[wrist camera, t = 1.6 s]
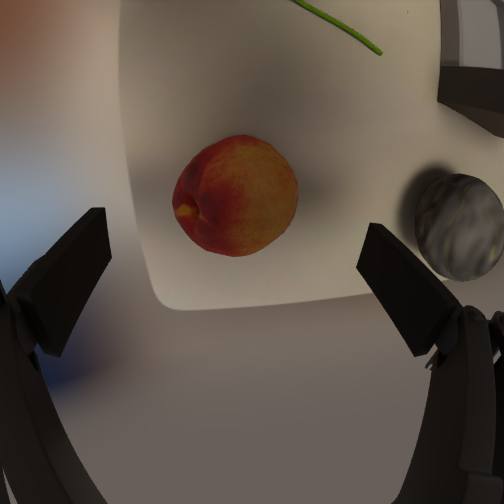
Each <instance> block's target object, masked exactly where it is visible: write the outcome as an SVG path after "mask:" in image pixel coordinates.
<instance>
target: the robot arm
mask: <svg viewBox="0 0 504 504" xmlns="http://www.w3.org/2000/svg"><path fill="white" fill-rule="evenodd" d="M105 212H106V211H105V208H104V207H103V208H101V207H100V208H91V209H89V210H88V211H87V212H86V213H85V214H84V215H83V216H82V217H81V218H80V219H79V220H78V221H77V222H76V223H75V224H74V225H73V226H72V227H71V228H70V229H69V230H68V231H67V232H66V233H65V234H64V235H63V236H62V237H61V238H60V239H59V240H58V241H57V242H56V243H55V244H54V245H53V246H52V247H51V248H50V249H49V250H48V252H47V253H46V254H45V255H43V256H42V257H40V258H39V259H37V260H36V261H34V262H33V263H32V265H31V266H30V267H29V268H28V270H27V271H26V272H25V273H24V274H23V275H22V277H21V278H20V279H19V280H18V281H17V282H16V284H15V285H14V286H13V287H12V289H11V290H10V291H9V292H8V294H7V295H6V293H5V290H4V288H3V285H2V283H1V280H0V504H10V500H9V496H8V492H7V488H6V484H5V479H4V475H3V470H4V472H5V475H6V478H7V480H8V483H9V485H10V488H11V490H12V492H13V494H14V497H15V499H16V501H17V503H18V504H107V502H106V500H105V499H104V498H103V496H102V495H101V493H100V492H99V491H98V489H97V487H96V486H95V484H94V483H93V481H92V480H91V478H90V477H89V475H88V473H87V471H86V470H85V468H84V466H83V465H82V463H81V461H80V459H79V458H78V456H77V454H76V452H75V450H74V448H73V446H72V444H71V442H70V440H69V438H68V436H67V434H66V432H65V430H64V428H63V425H62V423H61V421H60V419H59V417H58V414H57V412H56V409H55V407H54V404H53V402H52V399H51V397H50V394H49V391H48V388H47V385H46V382H45V379H44V376H43V373H42V370H41V367H40V363H39V360H38V357H37V354H36V353H35V351H34V348H35V346H36V344H37V342H38V344H39V346H40V347H41V349H42V351H43V353H44V354H48V355H52V356H56V357H60V356H61V354H62V352H63V349H64V347H65V345H66V343H67V341H68V338H69V336H70V334H71V332H72V330H73V328H74V326H75V324H76V322H77V320H78V318H79V316H80V314H81V312H82V310H83V308H84V306H85V304H86V302H87V300H88V299H89V297H90V295H91V293H92V291H93V289H94V288H95V286H96V284H97V282H98V280H99V279H100V277H101V275H102V273H103V272H104V270H105V268H106V267H107V265H108V263H109V262H110V260H111V258H112V256H111V249H110V243H109V236H108V229H107V220H106V213H105ZM356 268H357V270H358V271H359V273H360V274H361V275H362V277H363V278H364V280H365V281H366V282H367V284H368V285H369V287H370V288H371V290H372V291H373V293H374V294H375V296H376V297H377V298H378V300H379V301H380V303H381V304H382V306H383V308H384V309H385V310H386V312H387V313H388V315H389V317H390V318H391V319H392V321H393V323H394V324H395V326H396V328H397V329H398V331H399V332H400V334H401V336H402V337H403V339H404V340H405V342H406V344H407V345H408V347H409V348H410V350H411V352H412V354H413V355H414V357H417V356H421V355H425V354H427V353H428V352H429V350H430V349H431V348H432V346H433V345H434V343H435V345H436V346H437V348H438V349H437V350H436V352H435V353H434V355H433V356H432V357H431V359H430V360H429V362H428V363H427V364H426V366H425V368H428V366H429V365H430V364H433V366H432V367H431V368H430V370H431V371H432V372H431V380H430V386H429V392H428V397H427V402H426V407H425V412H424V416H423V421H422V425H421V429H420V433H419V436H418V440H417V444H416V447H415V451H414V454H413V457H412V460H411V463H410V466H409V469H408V472H407V475H406V477H405V480H404V483H403V485H402V488H401V490H400V493H399V495H398V497H397V498H396V499H395V500H394V502H392V503H391V504H504V312H500V311H497V312H495V314H494V315H493V317H492V319H491V320H487V319H486V318H485V316H484V315H483V313H482V312H481V311H480V310H478V309H477V308H475V307H473V306H470V305H467V306H465V307H462V305H461V304H460V303H459V301H458V300H457V299H456V298H455V296H454V295H453V294H452V293H451V292H450V291H449V290H448V289H447V288H446V286H445V285H444V284H443V283H442V282H441V281H440V280H439V279H438V278H437V277H436V276H435V275H434V274H433V273H432V272H431V271H430V270H429V269H428V268H427V267H426V266H425V264H424V263H423V262H422V261H421V260H420V259H419V258H417V257H416V256H415V255H414V254H413V253H412V252H411V251H410V250H409V249H408V248H407V247H406V246H405V245H404V244H403V243H402V242H401V241H400V240H399V239H398V238H397V237H395V236H394V235H393V234H392V233H391V232H390V231H389V230H388V229H387V228H386V227H384V226H383V225H382V224H378V223H370V224H369V227H368V231H367V234H366V238H365V241H364V244H363V247H362V251H361V254H360V257H359V260H358V263H357V266H356ZM499 350H500V353H501V356H500V357H499V359H498V360H497V361H496V362H495V364H493V358H494V356H495V355H496V354H497V352H498V351H499ZM2 467H3V469H2Z"/></svg>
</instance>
